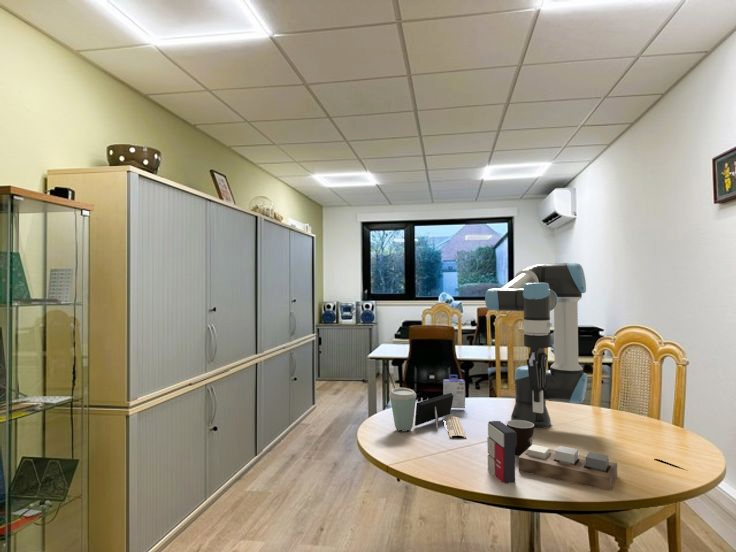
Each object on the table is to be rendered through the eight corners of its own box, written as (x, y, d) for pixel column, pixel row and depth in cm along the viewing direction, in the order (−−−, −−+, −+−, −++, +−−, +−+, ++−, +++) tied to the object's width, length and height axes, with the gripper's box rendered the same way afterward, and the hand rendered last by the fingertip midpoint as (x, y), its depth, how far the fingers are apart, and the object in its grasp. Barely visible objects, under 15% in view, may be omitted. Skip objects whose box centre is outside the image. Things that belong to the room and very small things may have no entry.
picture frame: (450, 415, 194) (428, 408, 198) (454, 393, 193) (432, 387, 197) (436, 433, 174) (412, 425, 178) (440, 409, 173) (416, 401, 177)
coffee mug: (521, 461, 142) (520, 429, 142) (501, 452, 150) (500, 422, 150) (546, 454, 147) (546, 424, 147) (526, 446, 155) (526, 417, 155)
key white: (527, 466, 134) (527, 449, 134) (532, 460, 138) (532, 444, 138) (544, 470, 131) (544, 453, 131) (549, 464, 135) (549, 448, 135)
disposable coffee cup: (422, 428, 175) (422, 389, 176) (406, 435, 167) (406, 394, 167) (400, 422, 182) (400, 385, 182) (383, 429, 174) (383, 390, 174)
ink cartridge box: (464, 405, 207) (464, 374, 208) (465, 409, 202) (465, 376, 202) (443, 405, 209) (442, 373, 209) (443, 408, 203) (443, 376, 203)
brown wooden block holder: (518, 474, 132) (518, 457, 133) (531, 461, 142) (531, 445, 142) (610, 496, 118) (609, 477, 118) (617, 480, 128) (617, 463, 128)
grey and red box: (486, 471, 135) (485, 421, 135) (499, 470, 135) (499, 420, 136) (502, 487, 124) (502, 433, 124) (517, 486, 124) (516, 432, 125)
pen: (695, 480, 128) (695, 474, 128) (649, 462, 141) (649, 457, 141) (699, 479, 129) (699, 473, 129) (653, 461, 142) (653, 456, 142)
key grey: (555, 468, 130) (555, 450, 130) (560, 462, 134) (559, 445, 134) (574, 472, 127) (573, 454, 127) (578, 466, 131) (578, 449, 131)
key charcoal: (585, 475, 125) (585, 457, 125) (589, 469, 129) (589, 451, 129) (605, 479, 122) (605, 461, 122) (609, 473, 126) (608, 455, 126)
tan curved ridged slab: (466, 440, 163) (466, 435, 163) (446, 439, 164) (446, 435, 164) (459, 420, 187) (459, 416, 187) (442, 420, 188) (442, 416, 188)
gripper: (543, 336, 128) (544, 419, 128) (555, 332, 139) (557, 409, 138) (517, 335, 133) (518, 415, 132) (531, 330, 143) (532, 405, 143)
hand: (538, 411), depth 135 cm, fingers closed
